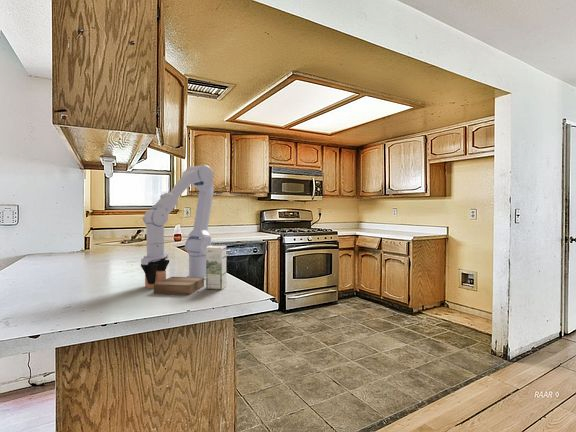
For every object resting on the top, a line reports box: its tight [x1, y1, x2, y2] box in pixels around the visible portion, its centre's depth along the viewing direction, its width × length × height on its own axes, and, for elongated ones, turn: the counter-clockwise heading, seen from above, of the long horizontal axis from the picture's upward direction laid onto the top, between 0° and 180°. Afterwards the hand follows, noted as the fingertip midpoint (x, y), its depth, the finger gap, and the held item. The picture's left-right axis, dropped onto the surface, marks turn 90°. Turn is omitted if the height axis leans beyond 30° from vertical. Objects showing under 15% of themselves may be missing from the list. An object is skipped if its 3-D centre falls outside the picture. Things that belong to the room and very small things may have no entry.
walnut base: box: [153, 276, 205, 296], centre depth 112 cm, size 12×12×3 cm
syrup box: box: [205, 244, 227, 290], centre depth 115 cm, size 6×6×14 cm
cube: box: [144, 271, 167, 289], centre depth 117 cm, size 5×5×5 cm
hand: (155, 281), depth 117 cm, fingers open, 5 cm apart
